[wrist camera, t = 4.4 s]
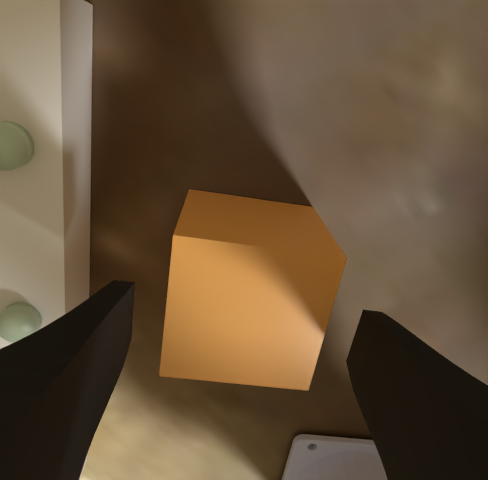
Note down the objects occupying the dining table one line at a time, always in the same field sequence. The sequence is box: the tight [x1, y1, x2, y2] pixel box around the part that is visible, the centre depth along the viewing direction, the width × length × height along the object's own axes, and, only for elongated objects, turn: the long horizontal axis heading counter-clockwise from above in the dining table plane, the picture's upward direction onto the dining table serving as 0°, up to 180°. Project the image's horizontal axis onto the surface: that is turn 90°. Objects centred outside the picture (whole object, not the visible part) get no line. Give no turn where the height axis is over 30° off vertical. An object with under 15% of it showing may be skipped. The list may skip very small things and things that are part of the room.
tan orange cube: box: [159, 189, 347, 391], centre depth 15 cm, size 5×5×5 cm
